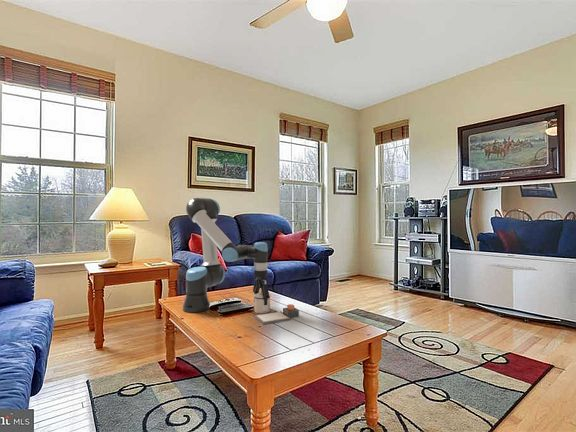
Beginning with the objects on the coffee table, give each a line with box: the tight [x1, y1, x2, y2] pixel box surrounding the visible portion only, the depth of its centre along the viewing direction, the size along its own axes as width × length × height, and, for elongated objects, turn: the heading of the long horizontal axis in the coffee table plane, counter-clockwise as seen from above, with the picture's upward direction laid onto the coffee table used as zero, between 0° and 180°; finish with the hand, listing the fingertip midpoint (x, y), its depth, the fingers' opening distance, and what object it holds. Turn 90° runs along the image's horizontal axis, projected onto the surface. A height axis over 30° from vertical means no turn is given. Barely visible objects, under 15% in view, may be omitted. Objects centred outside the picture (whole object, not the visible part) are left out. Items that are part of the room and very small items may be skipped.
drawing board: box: [253, 311, 292, 325], centre depth 170 cm, size 13×16×1 cm
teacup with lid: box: [253, 290, 271, 315], centre depth 183 cm, size 12×9×12 cm
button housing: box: [282, 306, 300, 319], centre depth 175 cm, size 6×6×4 cm
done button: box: [286, 303, 295, 311], centre depth 175 cm, size 4×4×3 cm
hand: (260, 307), depth 183 cm, fingers closed on teacup with lid, 12 cm apart
